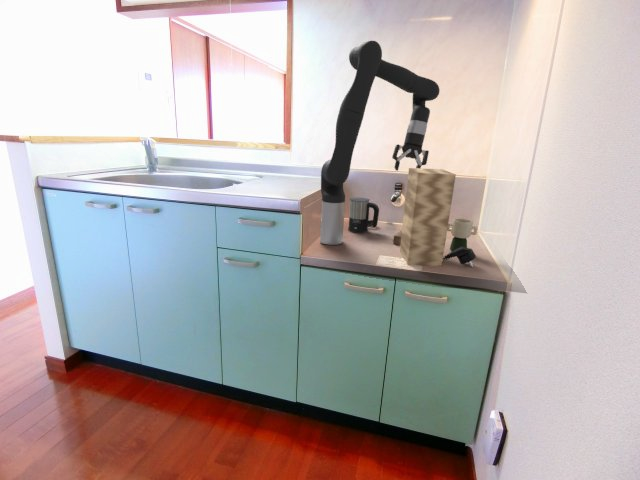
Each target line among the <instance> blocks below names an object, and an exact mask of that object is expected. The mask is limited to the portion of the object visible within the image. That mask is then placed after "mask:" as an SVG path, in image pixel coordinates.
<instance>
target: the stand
mask: <svg viewBox="0 0 640 480" xmlns="http://www.w3.org/2000/svg"><path fill="white" fill-rule="evenodd" d="M407 174H408V175H407V181H406V191H405V198H404V199H405V200H404V201H405V202H404V209H403V210H404V211H403V220H402V229H401V230H402V235H401V244H400V245H399V252H400V253H401V255H402V257H403V259H404V261H405V263H406V265H408V266H409V265H410V266H411V265H412V266H430V267H431V266H432V267H442V266H443V258H444V253H445V248H446V242H447V241H446V240H447V236H448V235H447V233H448V231H447V228H448V223H450V222H449V221H450V215H451V208H452V202H453V194H454V188H455V182H456V177H457V176H456V173H453V172H451V171H448V170H445V169H442V168H439V169H438V168H416V167H415V168H414V167H409V168H408V173H407Z"/></svg>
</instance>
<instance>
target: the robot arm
mask: <svg viewBox="0 0 640 480" xmlns="http://www.w3.org/2000/svg"><path fill="white" fill-rule="evenodd" d="M348 56H349V57H348V61H349V64H350V66H351V67H352V68H353V69H354V70H356V73H355V76H354V79H353V81H352V84H351V86H350V88H349V90H348V91H347V92H346V95H345V96H344V98H343V100H342V101H341V104H340V107H339V110H338V115H337V119H336V125H335V145H334V149H333V152H332V156H331V158H330V159H328V160H326V161H325V162H324V163H323V165H322V167H321V171H320V192H321V216H320V217H321V219H320V236H319V237H320V240H319V243H320V244H324V245H329V246H336V245H341V244H343V241H344V223H345V221H344V220H345V208H346V207H345V205H346V204H345V203H346V194H345V192H344V183H345V182H346V181H347V180H348V177H349V175H350V171H351V166H352V159H353V158H352V157H353V154H354V149H355V147H356V144H357V140H358V136H359V133H360V131H361V130H360V129H361V126H362V123H363V119H364V115H365V111H366V107H367V104H368V100H369V98H370V93H371V91H372V87H373V84H374V81H375V78H376V77H377V78H378V79H382V80H383V81H385V82H388V83H389V84H391V85H393V86H395V87H397V88H399V89H401V90H402V91H404V92H405V93H408V94H412V111H411V115H410V119H409V124H408V125H407V129H406V134H405V138H404V142H403V145H401V144H396V145H395V146H394V150H393V154H392V157H391V158H392V159H393V160H394V161H395V164H394V169H395V170H394V171H399V167H400V164H401V163H400V161H401V160H402V159H404V157H405V158H408V159H409V158H410V159H414V160H415V162H416V164H417V165H416V167H415V168H421V167H422V166H426V165H427V162H428V158H429V153H430V151H429V150H427V149H426V150H424V149H423V144H424V141H425V137H426V132H427V127H428V123H429V118H430V115H431V109H430V108H429V107H427V106H426V102H428V101H434V100H436V99H437V98H438V97H439V94H440V86H439V85H438V83H437V82H436V81H435V80H433V79H430V78H427V77H423V76H420V75H418V74H416V73H415V72H413V71H411V70H410V69H408V68H406V67H404V66H401V65H398V64H395V63H391V62H389V61H387V60H384V59H382V57H383V49H382V47H381V45H380V44H379V42H377V41H376V40H367V41H363V42H360V43H357V44H356V45H354V46H353V47H351V50H350V52H349V55H348ZM399 151H402V153H401V154H400V155H399V156H398V154H399ZM421 154H422V160H421V158H420V155H421ZM421 169H422V168H421Z"/></svg>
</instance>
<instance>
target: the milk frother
mask: <svg viewBox="0 0 640 480" xmlns="http://www.w3.org/2000/svg"><path fill="white" fill-rule="evenodd" d="M370 208H371V209H373V216H372V218H373V219H370V218H369V217H370V216H369V215H370ZM379 214H380V208H379V206H378V204H376V203H374V202H370V198H368V197H362V196H361V197H359V196H358V197H354V196H353V197H351V198H349V215H348V217H349V218H348V227H347V228H348V229H347V230H348V231H349V232H352V233H366V232H368V231H369V230H368V228H369V227H371V226H372V228H377V225H378V221H379Z"/></svg>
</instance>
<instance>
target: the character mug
mask: <svg viewBox="0 0 640 480" xmlns="http://www.w3.org/2000/svg"><path fill="white" fill-rule="evenodd" d="M473 224H474V221H473V220H471V219H469V218H462V217H459V218H458V217H456V218H453V220H452V222H448V228H447V232H451V235H452V237H453V238H452V240H451V244H450V246H449V250H450V251H451V252H452V251H454V250H456V249H458V248H460V247H466V248H468V239H469V238H470V237H471V236H476V235H477V233H478V227H477V226H474V225H473ZM450 226H451V228H450ZM472 230H473V232H472Z"/></svg>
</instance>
